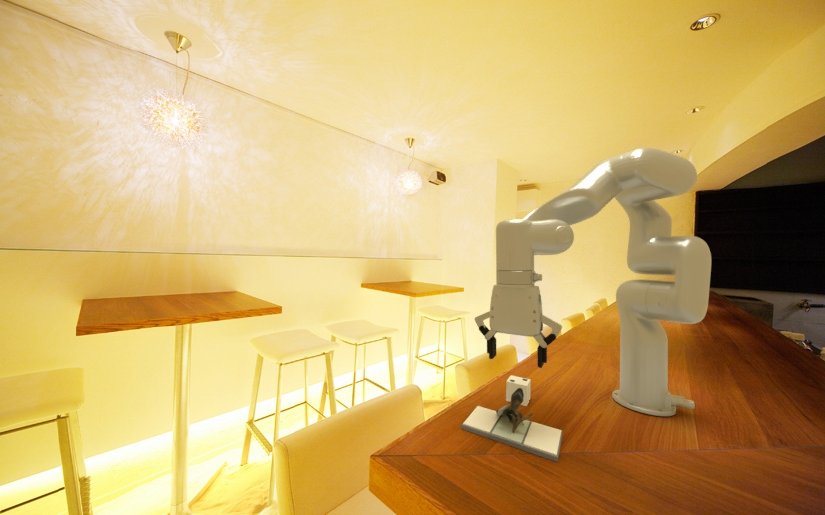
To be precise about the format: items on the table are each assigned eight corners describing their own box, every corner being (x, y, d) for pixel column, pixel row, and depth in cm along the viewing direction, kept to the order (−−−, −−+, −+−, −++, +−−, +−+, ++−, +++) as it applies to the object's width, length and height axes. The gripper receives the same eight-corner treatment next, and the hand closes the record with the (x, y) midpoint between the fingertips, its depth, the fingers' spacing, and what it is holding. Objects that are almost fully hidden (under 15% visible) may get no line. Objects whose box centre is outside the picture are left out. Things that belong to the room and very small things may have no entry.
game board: (562, 434, 59) (562, 429, 59) (557, 462, 51) (557, 456, 51) (477, 409, 69) (477, 404, 69) (461, 428, 60) (461, 423, 60)
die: (530, 398, 75) (530, 379, 75) (526, 406, 71) (527, 385, 71) (510, 393, 78) (510, 374, 78) (505, 401, 73) (506, 380, 74)
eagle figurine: (543, 430, 56) (531, 401, 65) (525, 401, 56) (514, 375, 65) (508, 446, 58) (500, 415, 67) (490, 417, 57) (484, 390, 66)
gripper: (563, 279, 59) (564, 363, 59) (480, 277, 68) (481, 350, 68) (559, 281, 53) (560, 376, 52) (469, 279, 62) (469, 359, 62)
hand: (515, 361), depth 60 cm, fingers open, 9 cm apart
